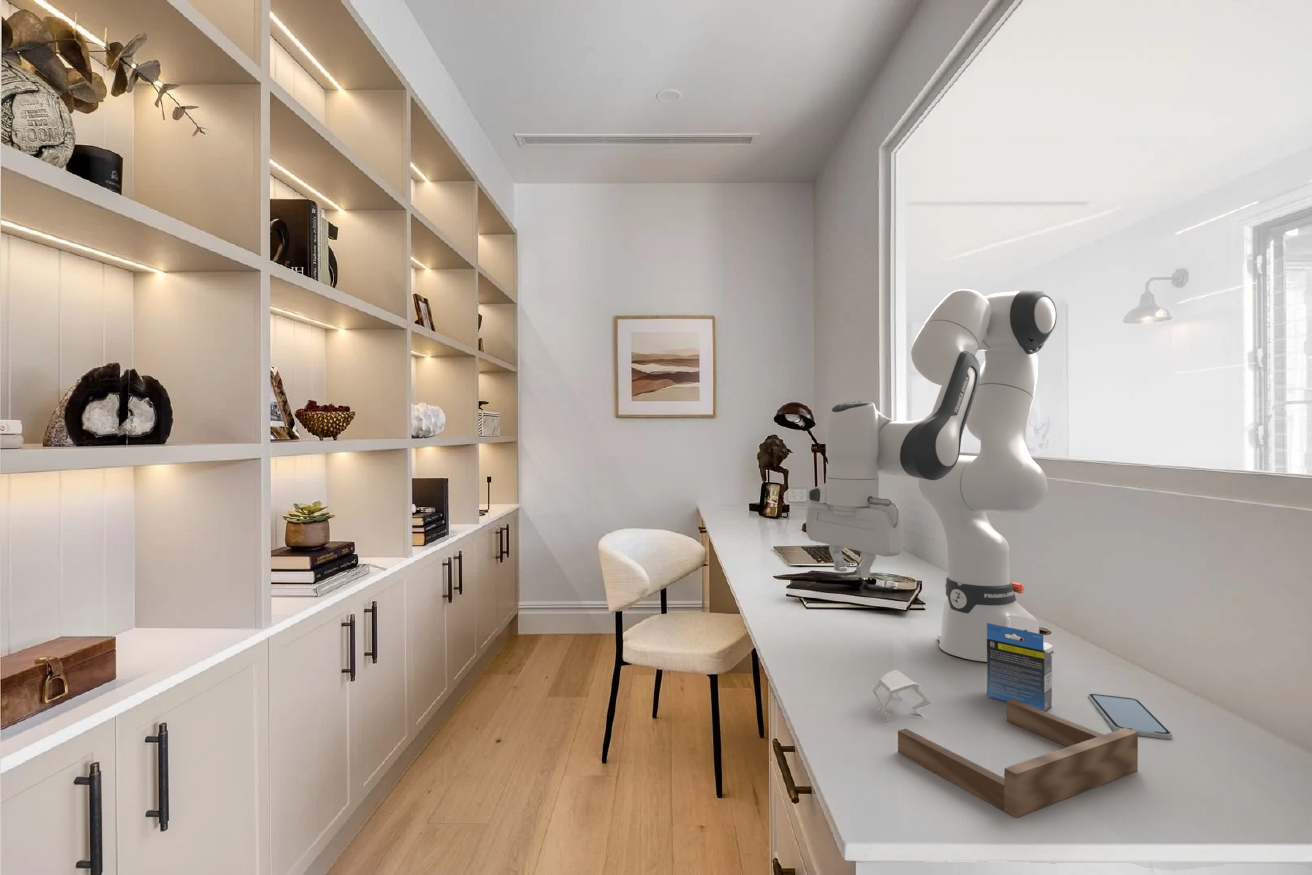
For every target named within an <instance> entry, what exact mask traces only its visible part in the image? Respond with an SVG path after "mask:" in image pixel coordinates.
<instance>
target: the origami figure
mask: <svg viewBox="0 0 1312 875" xmlns="http://www.w3.org/2000/svg"><path fill="white" fill-rule="evenodd" d="M880 686H882V688H883V689H884V690H885V691H887V693H888V697H887V699H886V701H885V702H884V704H883V703H882V702H881V700H880V698H879V695H878V694H877V692H876V691H878V689H879V688H880ZM919 687H920V684H919V683H917V682H915V681H913V680H912V679H911V678H909V677H908V676H906V675H905V674H904V673H903V672H901V671H899V669H894V670H891V671H888V672H886V673H885V674H884V675H883V676H882V677H881V678H879V679H878V683H877V684H876V686H874V688H873V689H872V693H873V695H874V696H875V697H876V699H877V701H878V702H879V704H880V706H879V708H878V709H879V710H880V712H882V713H883V714H885V715H887V717H886V719H885V722H886V721H890V719H891V717H892V715H891V714H890V713H888V712H887V711H886V709H887V708H888V706H889V703H890V701H891V699H892V696H893V695H894V694H895V696H896V697H898V699H899V700H901V699H903V697H901V696H900V695H899V693H901V692H902V691H905V690H909V689H912V690H913V691H914V692H915V693H916V694H917V695H919V697H921V698H922V699H923V700H921V701H920V702H918V703H916V704H915V705H913V706H911V707H910V708H911V709H912V710H914V712H915V713H917V714H918V715H919V716H920V715H921V717H922V716H924V715H923V714H922V713H920V711H918V710H917V709H919V708H922V707H925V706H928V705H930V704H932V702H931V700H929V699H928V697H926V695H925V694H924V693H923V691H921V690H920V688H919ZM879 710H878V711H879Z"/></svg>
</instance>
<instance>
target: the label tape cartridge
mask: <svg viewBox="0 0 1312 875" xmlns="http://www.w3.org/2000/svg"><path fill="white" fill-rule="evenodd" d="M1005 634H1009V635H1012V634H1016V635H1017V636H1018V637H1022V638H1023V639H1024V640H1023V641H1020V640H1016V639H1011V638H1006V637H1005ZM1043 641H1044V634H1043V633H1039V634H1038V633H1033V632H1028V631H1023V630H1019V629H1014V628H1009V627H1004V626H999V625H994V624H990V623H987V662H986V695H987V698H990V697H991V698H990V699H994V700H998V701H1001V702H1005V701H1006V703H1007V701H1009V700H1016V701H1018V702H1021V703H1024V704H1026V705H1029V706H1031V707H1034V708H1037V709H1039V710H1042V711H1044V712H1047V711H1048V710H1050V709H1051V707H1052V705H1053V704H1052V701H1053V700H1052V699H1053V690H1052V689H1053V672H1052V671H1053V670H1052V669H1053V662H1052V661H1053V660H1052V659H1053V658H1052V657H1053V656H1052V654H1051V653H1047V652H1046V651H1045V650H1044V646H1043Z"/></svg>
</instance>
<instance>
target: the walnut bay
mask: <svg viewBox="0 0 1312 875" xmlns="http://www.w3.org/2000/svg"><path fill="white" fill-rule="evenodd" d="M1006 722H1008V723H1011V724H1013V725H1015V724H1016V726H1017V725H1018V726H1017V727H1020V728H1022V727H1023V728H1022V729H1025V730H1026V731H1027V730H1028V732H1029V731H1030V732H1031V733H1032V732H1033V733H1034V732H1035V733H1034V734H1036V735H1039V736H1042V737H1044V738H1046V739H1049V740H1051V741H1054V742H1056V743H1058V744H1061V745H1063V746H1064V748H1061V749H1058V750H1055V751H1052V752H1049V753H1046V754H1042V755H1040V756H1037V757H1034V758H1031V759H1028V760H1025V761H1021V762H1019V763H1016V764H1013V765H1010V766H1007V767H1005V768H1004V771H1003V772H1004V776H1003V777H1002V776H1001V775H999V774H997V773H995V772H993V771H991V770H989V769H987V768H985V767H983V766H981V765H980V764H977V763H975V762H973V761H971V760H969V759H967V758H965V757H963V756H961V755H959V754H958V753H955V752H953V751H952V750H949V748H946V747H943V746H942V745H940V744H937V743H936V742H934V741H932V740H930V739H927V738H925V737H924V736H921V735H919V734H918V733H916V732H914V731H912V730H910V729H908V728H903V729H899V730H897V753H898V754H900V755H902V756H904V757H905V758H907V759H909V760H911V761H912V762H914V763H916V764H918V765H920V766H921V767H923V768H925V769H927V770H928V771H931V772H933V773H934V774H937V775H938V776H940V777H941V778H943V779H945V780H947V781H948V782H951V783H952V784H954V785H956V786H958V787H959V788H961V789H963V790H965V791H967V792H969V793H970V794H972V795H974V796H975V797H977V798H980V800H983V801H985V802H987V803H988V804H990V805H992V806H994V807H995V808H997V809H999V810H1001V811H1003V812H1005V813H1007V814H1008V815H1010V816H1011V817H1013V818H1016V819H1017V818H1020V817H1023V816H1024V815H1027V814H1030V813H1032V812H1033V813H1034V812H1035V811H1037V809H1038V810H1040V809H1044V808H1045V806H1046V807H1047V806H1050V804H1051V805H1053V804H1056V803H1058V802H1061V801H1063V800H1066V799H1069V798H1071V797H1074V796H1076V795H1079V794H1081V793H1084V792H1087V791H1089V790H1092V789H1094V788H1096V787H1099V786H1102V785H1104V784H1106V783H1110V782H1112V781H1114V780H1116V779H1119V778H1121V777H1124V776H1127V775H1129V774H1133V773H1135V772H1138V769H1139V768H1138V765H1139V763H1138V759H1139V758H1138V756H1139V755H1138V754H1139V751H1138V750H1139V748H1138V746H1139V745H1138V744H1139V741H1138V740H1139V738H1138V737H1139V735H1138V732H1136V731H1133V730H1131V729H1128V728H1123V729H1120V730H1117V731H1114V730H1113V731H1111V732H1108V733H1105V734H1104V733H1101V732H1099V731H1096V730H1093V729H1091V728H1088V727H1086V726H1084V725H1080V724H1078V723H1076V722H1073V721H1070V720H1067V719H1064V718H1063V717H1059V716H1057V715H1055V714H1053V713H1049V712H1047V711H1045V712H1044V711H1042V710H1039V709H1037V708H1034V707H1031V706H1029V705H1026V704H1024V703H1021V702H1018V701H1016V700H1009V701H1007V702H1006ZM1065 746H1066V747H1065Z"/></svg>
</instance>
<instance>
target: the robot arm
mask: <svg viewBox="0 0 1312 875" xmlns="http://www.w3.org/2000/svg"><path fill="white" fill-rule="evenodd" d="M1057 316H1058V315H1057V308H1056V304H1055V301H1054V300H1053V299H1052V298H1051V296H1050V295H1049V294H1048V293H1047V292H1046V291H1043V290H1038V289H1022V290H1019V291H1008V292H1007V291H1006V292H998V293H993V294H989V295H987V296H986V295H985V296H984V294H981V293H980V292H978V291H976V290H973V289H967V288H965V289H964V288H963V289H962V288H961V289H957V290H954V291H952V292H949V293H948V294H946V296H945V297H944V298H943V299H942V300H941V301H940V302H939V303H938V305H936V306H935V308H934V309H933V310H932V312H931V313H930V315H929V316H928V317H927V319H926V320H925V322H924V323H923V325H922V327H921V328H920V330H919V332H918V333H917V335H916V336H915V339H914V341H913V343H912V347H911V351H910V355H911V356H910V357H911V360H912V364H913V366H914V367H915V369H916V370H917V371H918V373H919V374H921V376H922V377H924V378H925V379H926V380H928V381H929V382H931V383H933V384H936V385H939V386H941V387H940V390H939V391H938V395H937V398H936V400H935V403H934V406H933V407H932V411H931V413H929V415H927V416H925V417H923V418H920V419H917V420H892V419H891V418H890V417H889V418H888V417H887V416H885V415H883V414H882V413H880V411H879V410H877V409H876V405H875V403H874V402H872V401H871V400H857V401H856V400H855V401H851V402H850V401H848V402H844V403H843V402H842V403H839V404H836V405H835V406H833V407H832V408H831V409H830V411H829V414H828V417H827V424H826V431H825V455H826V457H827V469H826V473H825V482H824V483H822V484H820V485H818V486H815V487H812V488H809V489H807V491H806V495H805V496H806V500H807V501H808V502H809V503H808V504H807V506H806V515H805V516H806V518H805V521H806V522H805V524H806V525H805V527H806V528H805V530H806V531H805V532H806V534H807V537H808V539H809V540H810V541H813V542H816V543H821V544H826V545H828V551H829V553H830V556H831V558H832V560H833V570H834V571H835V572H839V573H844V572H847V571H848V567H847V566H848V561H847V560H845V559H844V555H843V553H842V551H844V549H849V550H853V551H857V552H860V558H861V559H862V561H861V562H860V565H859V566H855V568H856V570H855V571H856V574H855V575H856V577H858V578H861V579H869V578H870V577H871V568H872V566H873V564H874V562H875V561H876V557H877V556H879V557H884V558H887V557H889V558H890V557H898V556H900V555H901V553H902V551H903V549H904V541H903V530H902V524H901V517H900V510H899V507H898V506H897V505H896V504H895V503H894V502H893V500H892V499H890V498H880V496H879V490H880V489H879V487H880V486H879V484H880V483H879V481H880V480H879V478H880V477H879V474H882V475H883V474H885V475H890V476H891V475H892V476H903V477H913V478H917V479H918V488H919V490H920V493H921V495H922V497H923V498H924V499H925V500H926V501H927V502H928V503H929V504H930V505H931V506H932V508H934V510H935V512H936V513H937V515H938V517H939V520H940V522H941V525H942V527H943V529H944V533H945V537H946V542H947V543H946V544H947V561H948V562H947V564H948V570H947V571H948V576H947V577H946V579H945V580H946V581H945V585H944V586H945V596H946V597H947V599H946V601H944V604H943V611H942V621H941V628H940V630H941V631H940V632H939V633H937V638H936V639H937V640H938V641H939V645H938V646H939V648H940V650H942V651H943V652H945V653H946V654H949V655H952V656H955V657H957V658H958V657H959V658H963V659H965V660H966V659H967V660H970V661H978V662H985V663H987V623H990V624H994V625H999V626H1004V627H1009V628H1014V629H1019V630H1023V631H1028V632H1033V633H1038V634H1040V628H1039V627H1040V625H1039V622H1038V620H1037V618H1035V617H1034V615H1032V614H1031V613H1030V612H1028V611H1027V610H1026V608H1024V607H1023V606H1022V605H1020V604H1019V603H1018V602H1017V597H1016V594H1015V593H1017V594H1020V595H1022V594H1023V593H1024V592H1025V585H1024V583H1019V582H1018V583H1017V582H1015V581H1013V582H1011V581H1010V577H1011V575H1010V566H1011V563H1010V562H1011V559H1010V558H1011V557H1010V552H1011V550H1010V545H1009V542H1008V540H1007V539H1006V538H1005V537H1004V536H1003V535H1002V534H1000V533H999V532H998V531H996V529H995V528H993V525H991V523H990V521H989V519H988V515H987V513H991V514H992V513H993V514H1002V515H1019V514H1027V513H1033V512H1035V511H1036V510H1038V509H1039V508H1040V507H1041V506H1042V505H1043V503H1044V502H1045V500H1046V498H1047V495H1048V490H1049V485H1048V480H1047V476H1046V473H1045V472H1044V471H1043V469H1042V468H1041V466H1040V465H1039V464H1037V463H1036V462H1035V460H1034V459H1033V458H1032V456H1031V454H1030V452H1029V450H1028V445H1027V428H1028V423H1029V418H1030V415H1031V408H1032V405H1033V401H1034V398H1035V392H1036V388H1037V381H1038V372H1039V370H1038V368H1039V367H1038V366H1039V359H1038V355H1037V354H1036V353H1038V352H1039V351H1041V349H1042V348H1043V347H1044V345H1045V343H1046V342H1047V341H1048V340H1049V338H1050V337H1051V335H1052V334H1053V332H1054V329H1055V328H1056V324H1057V320H1058V319H1057ZM978 351H979V352H980V351H983V352H984V356H985V359H984V362H983V364H982V366H981V365H980V362H979V360H978V358H977V356H976V355H977V354H978ZM965 426H966V427H967V429H968V431H969V432H970V434H971V435H972V436H973V437H975V438H977V439H978V440H980V450H979V454H978V455H960V453H961V446H962V445H961V444H962V437H963V434H964V431H965V430H964V429H965ZM1005 637H1006V638H1011V639H1016V640H1020V641H1023V640H1024V639H1023V638H1022V637H1018V636H1017V635H1016V634H1012V635H1009V634H1005ZM1043 646H1044V650H1045V651H1046V652H1047V653H1049V654H1051V653H1052V652H1054V647H1053V645H1052V644H1050V643H1049V642H1046V641H1044V640H1043Z"/></svg>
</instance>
